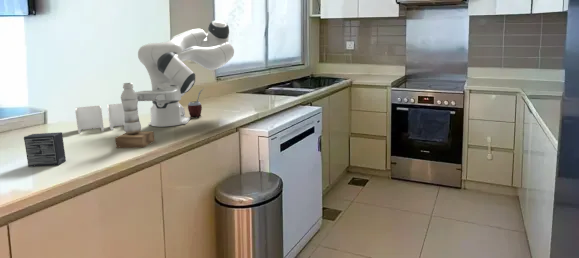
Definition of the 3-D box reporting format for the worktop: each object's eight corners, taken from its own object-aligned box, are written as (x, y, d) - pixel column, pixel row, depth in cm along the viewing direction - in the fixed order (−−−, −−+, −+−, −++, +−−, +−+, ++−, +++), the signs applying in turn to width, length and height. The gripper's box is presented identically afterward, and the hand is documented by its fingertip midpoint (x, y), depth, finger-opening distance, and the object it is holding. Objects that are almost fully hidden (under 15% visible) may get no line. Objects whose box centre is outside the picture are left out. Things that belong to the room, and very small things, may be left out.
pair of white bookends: (133, 124, 237) (130, 102, 235) (135, 127, 227) (133, 105, 225) (78, 130, 228) (75, 107, 226) (78, 134, 218) (75, 110, 216)
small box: (67, 160, 168) (63, 131, 166) (59, 165, 161) (54, 135, 159) (36, 162, 168) (32, 133, 166) (27, 167, 161) (22, 136, 159)
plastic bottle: (124, 136, 185) (118, 84, 181) (125, 133, 191) (119, 83, 187) (141, 134, 186) (136, 83, 182) (142, 131, 193) (136, 82, 189)
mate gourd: (186, 117, 250) (184, 88, 248) (200, 115, 255) (197, 87, 252) (192, 118, 245) (190, 89, 242) (206, 116, 249) (204, 88, 246)
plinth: (129, 141, 195) (128, 131, 194) (154, 141, 194) (153, 131, 193) (116, 147, 185) (114, 137, 184) (143, 147, 183) (141, 136, 182)
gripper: (140, 87, 212) (122, 91, 199) (182, 85, 206) (166, 90, 193) (142, 101, 213) (124, 106, 200) (184, 100, 208) (168, 105, 195)
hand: (145, 98), depth 197 cm, fingers open, 8 cm apart
